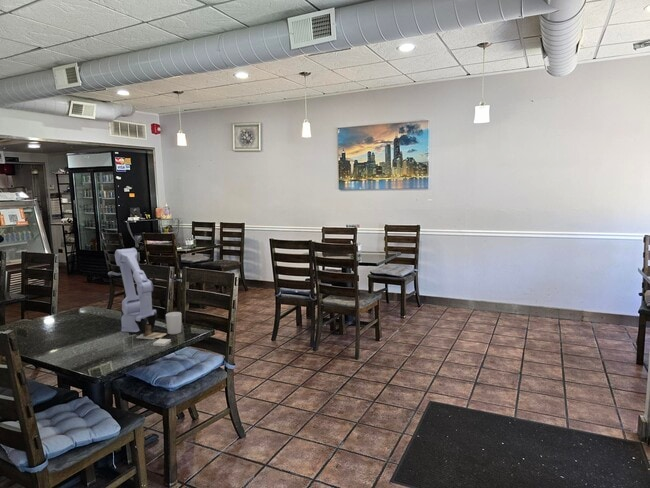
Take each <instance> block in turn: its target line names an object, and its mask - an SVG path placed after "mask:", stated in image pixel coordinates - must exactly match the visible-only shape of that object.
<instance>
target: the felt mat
mask: <svg viewBox="0 0 650 488" xmlns="http://www.w3.org/2000/svg"><path fill="white" fill-rule="evenodd" d="M135 338H136V339H141V340H143V339H144V340H155V339H156V338H148V337H146V336H143V333H140V335H138V336H136V337H135Z"/></svg>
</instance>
